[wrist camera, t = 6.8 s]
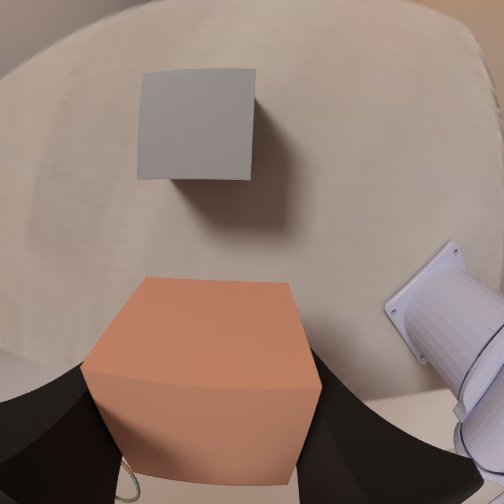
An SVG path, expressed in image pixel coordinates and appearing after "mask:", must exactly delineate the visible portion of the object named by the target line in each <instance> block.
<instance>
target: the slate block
mask: <svg viewBox="0 0 504 504" xmlns="http://www.w3.org/2000/svg"><path fill="white" fill-rule="evenodd" d="M255 78H256V69H238V68H208V69H185V70H171V71H161V72H152V73H144V74H143V81H142V91H141V101H140V114H139V130H138V156H137V180H149V179H227V180H251V159H252V138H253V117H254V97H255Z"/></svg>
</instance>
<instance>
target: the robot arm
mask: <svg viewBox="0 0 504 504" xmlns="http://www.w3.org/2000/svg"><path fill="white" fill-rule="evenodd" d="M454 250H455V252H454ZM393 310H394V312H392V311H393ZM384 311H385V312H386V314H387V315H388V316H389V318H390V319H391V321H392V322H393V324H394V325H395V326H396V328H397V329H398V331H399V332H400V334H401V335H402V337H403V338H404V340H405V341H406V343H407V344H408V346H409V347H410V349H411V350H412V352H413V353H414V355H415V356H416V358H417V359H418V361H419V363H420V364H421V365H424V364H426V363H427V362H428V361H429V362H430V364H431V365H432V366H433V368H434V369H435V370H436V372H437V373H438V374H439V375H440V377H441V378H442V379H443V381H444V382H445V383H446V385H447V386H448V388H449V389H450V390H451V392H452V393H453V394H454V396H455V397H456V398H457V400H458V403H457V405H456V407H455V408H454V409H453V412H454V414H455V415H456V416H457V418H458V420H459V422H458V423H457V425H456V427H455V430H454V445H455V449H456V453H457V454H454V453H451V452H448V451H445V450H442V449H439V448H437V447H434V446H432V445H430V444H427V443H425V442H423V441H421V440H419V439H417V438H415V437H413V436H411V435H409V434H407V433H406V432H404V431H402V430H401V429H399V428H397V427H396V426H394V425H392V424H391V423H389V422H388V421H386V420H385V419H383V418H382V417H381V416H379V415H378V414H377V413H375V412H374V411H373V410H371V409H370V408H369V407H367V406H366V405H365V404H364V403H363V402H361V401H360V400H359V399H358V398H357V397H356V396H355V395H354V394H353V393H352V392H350V391H349V390H348V389H347V388H346V387H345V386H344V385H343V384H342V382H341V381H340V380H339V379H338V378H337V377H336V376H335V375H334V374H333V373H332V372H331V371H330V370H329V369H328V367H327V366H326V365H325V364H324V363H323V362H322V360H321V359H320V358H319V357H318V356H317V354H316V353H315V352H314V351H313V350H312V348H311V347H310V346H309V347H310V350H311V353H312V356H313V359H314V363H315V366H316V369H317V372H318V375H319V378H320V381H321V385H322V389H321V392H320V396H319V399H318V402H317V406H316V409H315V412H314V415H313V418H312V421H311V424H310V427H309V430H308V433H307V436H306V439H305V441H304V444H303V447H302V450H301V452H300V455H299V458H298V460H297V463H296V468H297V476H298V487H299V500H300V504H461V503H462V502H464V501H465V500H466V499H468V498H469V497H470V496H472V495H473V494H474V493H475V492H476V491H478V490H479V489H480V488H481V487H482V486H483V483H484V480H488V481H492V482H495V483H497V484H499V485H501V486H502V487H503V488H504V296H502V295H501V294H499V293H498V292H497V291H495V290H494V289H492V288H491V287H489V286H488V285H486V284H485V283H483V282H482V281H480V280H479V279H477V278H475V277H474V276H472V275H471V274H469V273H468V270H467V267H466V265H465V262H464V259H463V257H462V254H461V252H460V249H459V247H458V244H457V243H456V242H455V241H453V240H452V241H450V242H449V243H448V244H447V245H446V246H445V247H444V248H443V249H442V250H441V251H440V252H439V253H438V254H437V255H436V256H435V257H434V258H433V259H432V260H431V261H430V262H429V263H428V264H427V265H426V266H425V267H424V268H423V269H422V270H421V271H420V272H419V273H418V274H417V275H416V276H415V277H414V278H413V279H412V280H411V281H410V282H409V283H408V284H407V285H406V286H405V287H403V288H402V289H401V290H400V291H399V292H398V293H397V294H396V295H395V296H394V297H392V298H391V299H390V300H389V301H388V302H387V303H386V304H385V306H384ZM391 312H392V313H391ZM83 362H84V361H83ZM83 362H82V363H80V364H79V365H77V366H76V367H74V368H73V369H71V370H69V371H68V372H66V373H65V374H63V375H62V376H60V377H59V378H57V379H55V380H53V381H51V382H50V383H48V384H46V385H44V386H42V387H40V388H38V389H36V390H33V391H31V392H29V393H26V394H23V395H21V396H19V397H16V398H13V399H11V400H8V401H4V402H1V403H0V504H114V502H115V494H116V487H117V481H118V475H119V470H120V466H121V461H122V456H123V455H122V453H121V451H120V450H119V448H118V446H117V444H116V443H115V441H114V439H113V437H112V435H111V434H110V432H109V430H108V428H107V426H106V424H105V422H104V420H103V418H102V416H101V414H100V412H99V410H98V408H97V406H96V404H95V401H94V399H93V397H92V395H91V392H90V390H89V388H88V385H87V383H86V381H85V378H84V376H83V373H82V371H81V368H80V367H81V365H82V364H83ZM488 504H504V492H502V494H500V495H499V496H497V497H496V498H495V499H493V500H492V501H491V502H489V503H488Z"/></svg>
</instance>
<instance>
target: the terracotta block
mask: <svg viewBox="0 0 504 504" xmlns="http://www.w3.org/2000/svg"><path fill="white" fill-rule="evenodd" d="M80 368H81V371H82V373H83V376H84V378H85V381H86V383H87V385H88V388H89V390H90V392H91V395H92V397H93V399H94V401H95V404H96V406H97V408H98V410H99V412H100V414H101V416H102V418H103V420H104V422H105V424H106V426H107V428H108V430H109V432H110V434H111V435H112V437H113V439H114V441H115V443H116V444H117V446H118V448H119V450H120V451H121V453H122V455H123V456H124V458H125V459H126V461H127V463H128V464H129V466H130V467H131V469H132V471H133V472H135V473H139V474H144V475H148V476H153V477H159V478H164V479H170V480H177V481H185V482H192V483H201V484H213V485H230V486H271V485H288V483H289V480H290V478H291V475H292V473H293V470H294V468H295V465H296V463H297V460H298V458H299V455H300V452H301V450H302V447H303V444H304V441H305V439H306V436H307V433H308V430H309V427H310V424H311V421H312V418H313V415H314V412H315V409H316V406H317V402H318V399H319V396H320V392H321V389H322V385H321V381H320V378H319V375H318V372H317V369H316V366H315V363H314V359H313V356H312V353H311V350H310V347H309V344H308V341H307V338H306V335H305V332H304V329H303V326H302V323H301V320H300V317H299V314H298V311H297V308H296V305H295V302H294V299H293V296H292V293H291V290H290V287H289V284H288V283H268V282H237V281H212V280H191V279H172V278H155V277H146V278H145V279H144V281H143V282H142V283H141V284H140V286H139V287H138V288H137V289H136V291H135V292H134V293H133V295H132V296H131V297H130V299H129V300H128V301H127V303H126V304H125V305H124V306H123V308H122V309H121V310H120V312H119V313H118V314H117V316H116V317H115V319H114V320H113V321H112V323H111V324H110V325H109V327H108V328H107V329H106V331H105V332H104V334H103V335H102V336H101V338H100V339H99V341H98V342H97V343H96V345H95V346H94V348H93V349H92V351H91V352H90V354H89V355H88V356H87V358H86V359H85V361H84V362H83V364H82V365H81V367H80Z"/></svg>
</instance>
